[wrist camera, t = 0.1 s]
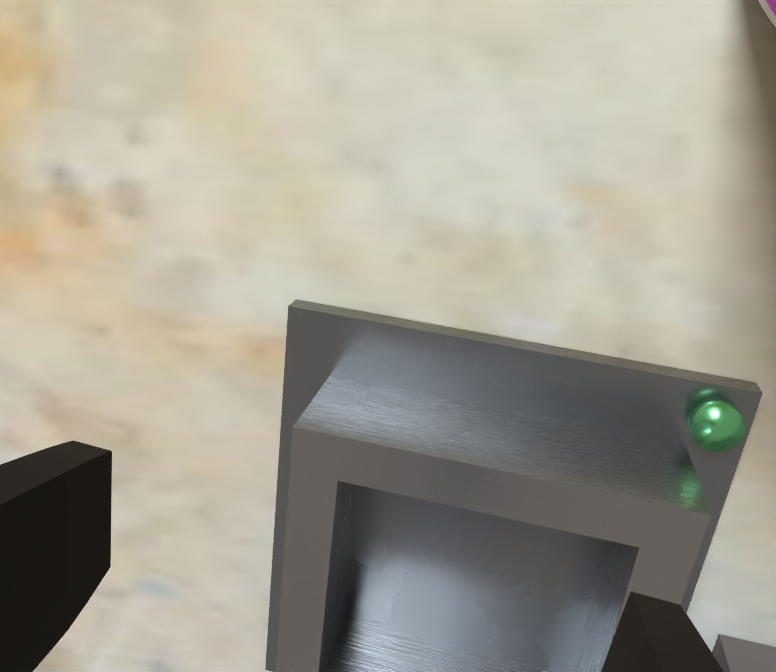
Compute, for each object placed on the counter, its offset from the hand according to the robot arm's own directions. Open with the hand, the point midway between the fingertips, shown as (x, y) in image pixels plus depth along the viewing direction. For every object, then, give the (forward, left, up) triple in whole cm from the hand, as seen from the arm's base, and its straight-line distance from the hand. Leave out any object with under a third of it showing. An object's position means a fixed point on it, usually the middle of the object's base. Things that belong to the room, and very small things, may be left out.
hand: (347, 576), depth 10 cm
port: (-6, -2, -10) cm, 12 cm away
